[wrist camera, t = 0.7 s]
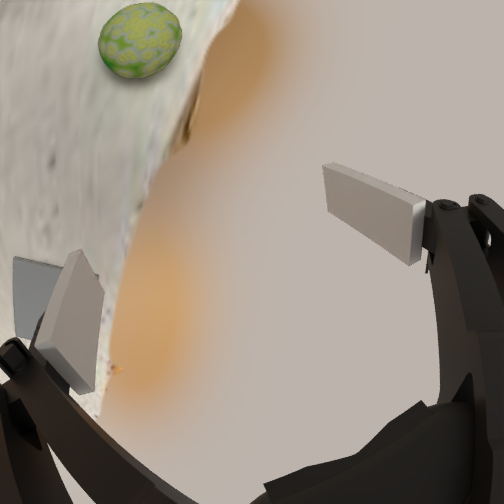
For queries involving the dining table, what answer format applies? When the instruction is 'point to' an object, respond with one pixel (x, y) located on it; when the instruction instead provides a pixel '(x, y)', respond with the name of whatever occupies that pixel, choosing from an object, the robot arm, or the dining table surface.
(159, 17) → the decorative ball
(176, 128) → the dining table surface
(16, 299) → the slate board
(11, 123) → the dining table surface
